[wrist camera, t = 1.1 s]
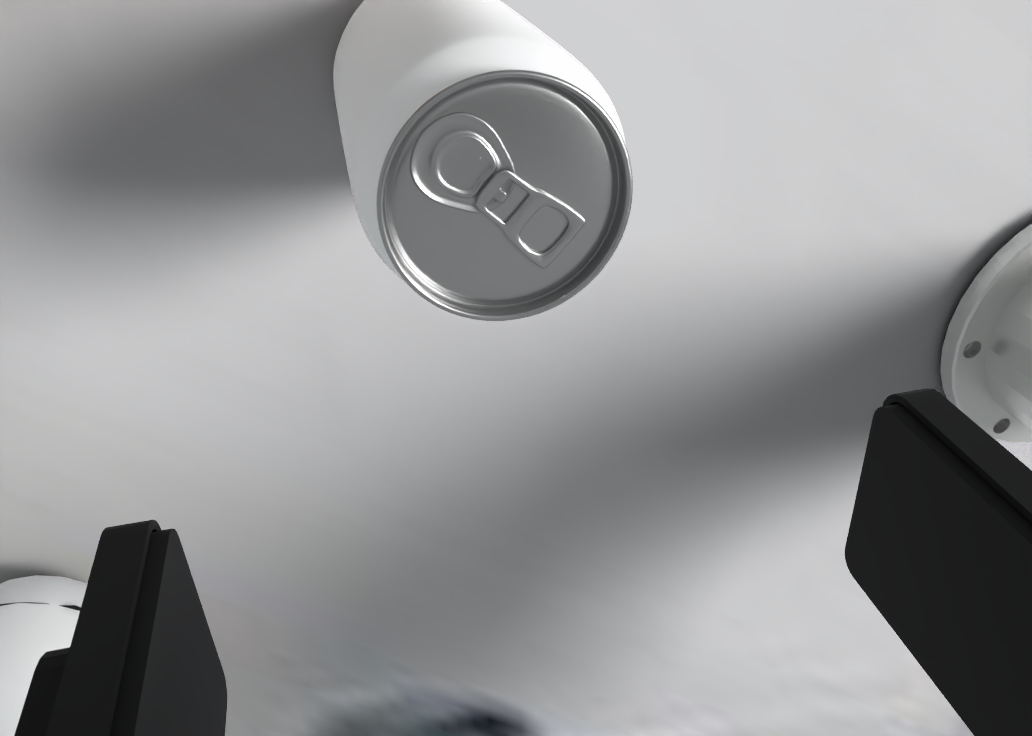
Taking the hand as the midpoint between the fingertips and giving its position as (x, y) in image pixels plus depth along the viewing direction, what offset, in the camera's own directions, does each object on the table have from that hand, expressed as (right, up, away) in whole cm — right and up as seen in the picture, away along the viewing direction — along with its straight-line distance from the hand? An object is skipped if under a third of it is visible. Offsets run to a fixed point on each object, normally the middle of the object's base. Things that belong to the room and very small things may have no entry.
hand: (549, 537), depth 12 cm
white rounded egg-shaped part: (-20, -6, +24) cm, 32 cm away
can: (-3, +12, +17) cm, 21 cm away
